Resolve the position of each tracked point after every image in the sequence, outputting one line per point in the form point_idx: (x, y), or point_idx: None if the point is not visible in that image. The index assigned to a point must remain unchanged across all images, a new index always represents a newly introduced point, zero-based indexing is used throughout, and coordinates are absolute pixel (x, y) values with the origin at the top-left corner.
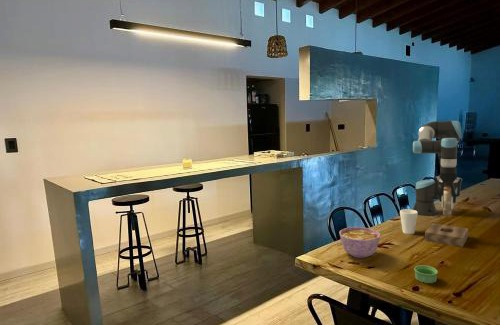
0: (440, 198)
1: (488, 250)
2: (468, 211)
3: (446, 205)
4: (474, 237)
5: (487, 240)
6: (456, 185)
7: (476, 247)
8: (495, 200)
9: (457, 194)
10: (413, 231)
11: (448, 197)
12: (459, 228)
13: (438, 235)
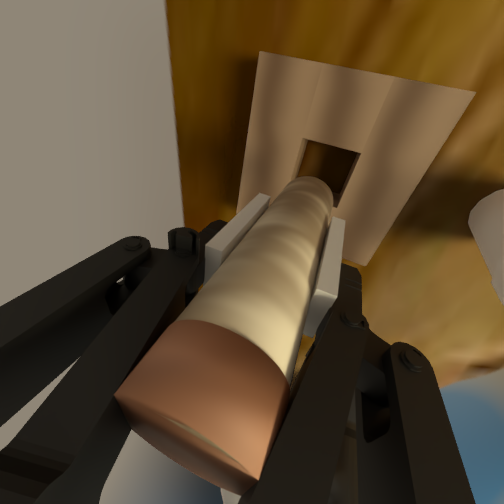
0: (349, 289)
1: (189, 66)
2: None
3: (299, 207)
4: (230, 207)
5: (198, 187)
6: None
7: (225, 87)
8: None
9: (126, 253)
10: (489, 200)
11: (253, 249)
12: None
13: (385, 75)
